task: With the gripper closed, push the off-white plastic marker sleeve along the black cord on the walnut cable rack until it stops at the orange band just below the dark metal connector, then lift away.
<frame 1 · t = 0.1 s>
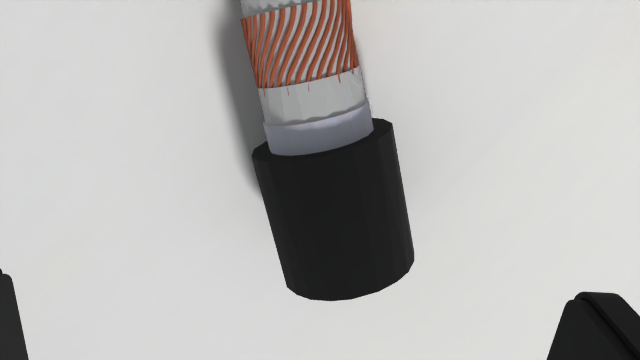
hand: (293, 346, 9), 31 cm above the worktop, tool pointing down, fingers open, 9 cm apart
cable: (301, 33, 37), on the worktop
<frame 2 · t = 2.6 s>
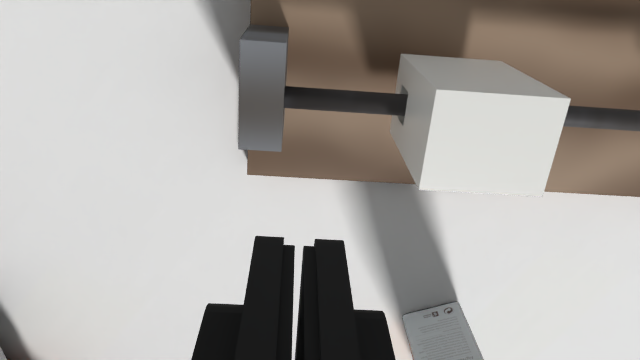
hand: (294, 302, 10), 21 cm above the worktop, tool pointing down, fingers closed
skincare box: (435, 336, 37), on the worktop
sleeve: (464, 118, 22), point 8 cm above the worktop, slide at -5.0 cm
cord rack: (509, 85, 29), on the worktop
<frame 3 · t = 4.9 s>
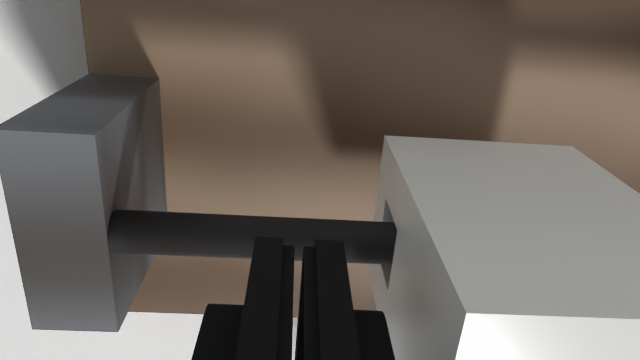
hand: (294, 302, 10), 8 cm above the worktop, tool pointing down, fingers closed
sleeve: (514, 285, 11), point 8 cm above the worktop, slide at -4.2 cm, touching gripper
cord rack: (547, 162, 18), on the worktop
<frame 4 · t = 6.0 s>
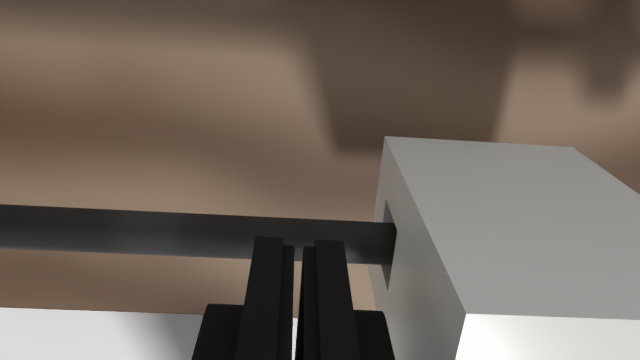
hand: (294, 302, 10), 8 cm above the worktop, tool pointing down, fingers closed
sleeve: (514, 285, 11), point 8 cm above the worktop, slide at 2.1 cm, touching gripper
cord rack: (370, 153, 17), on the worktop
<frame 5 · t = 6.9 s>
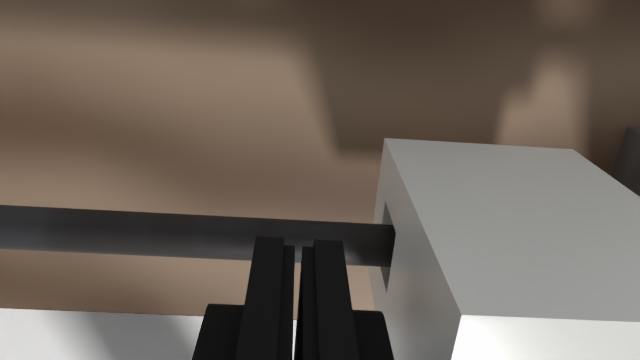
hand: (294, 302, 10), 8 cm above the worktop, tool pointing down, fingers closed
sleeve: (513, 288, 11), point 8 cm above the worktop, slide at 5.0 cm, touching cord rack, gripper
cord rack: (288, 150, 17), on the worktop
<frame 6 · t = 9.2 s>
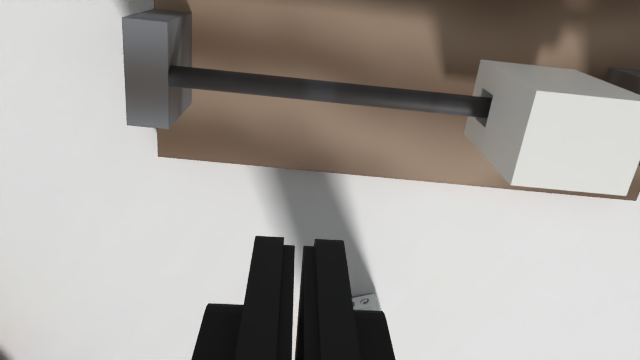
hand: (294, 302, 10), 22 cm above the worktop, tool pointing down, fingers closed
skincare box: (356, 327, 38), on the worktop
sleeve: (546, 121, 23), point 8 cm above the worktop, slide at 4.8 cm
cord rack: (415, 77, 30), on the worktop
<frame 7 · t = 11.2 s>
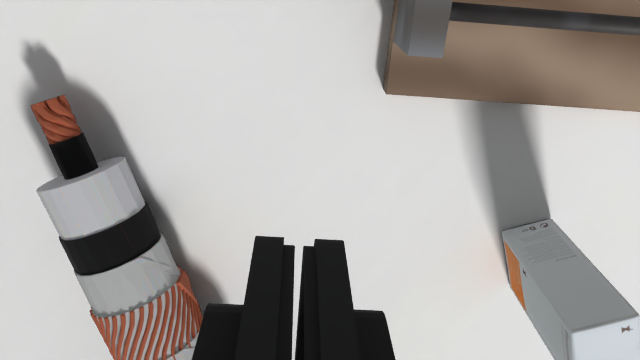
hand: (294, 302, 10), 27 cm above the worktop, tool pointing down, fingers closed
skincare box: (528, 252, 42), on the worktop
cable: (163, 279, 42), on the worktop
cord rack: (612, 17, 34), on the worktop
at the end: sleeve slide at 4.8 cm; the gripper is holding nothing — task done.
